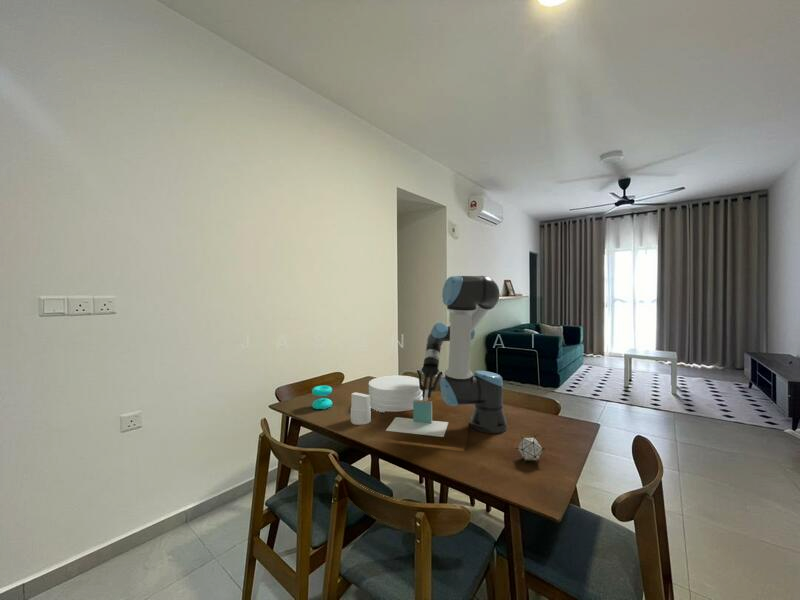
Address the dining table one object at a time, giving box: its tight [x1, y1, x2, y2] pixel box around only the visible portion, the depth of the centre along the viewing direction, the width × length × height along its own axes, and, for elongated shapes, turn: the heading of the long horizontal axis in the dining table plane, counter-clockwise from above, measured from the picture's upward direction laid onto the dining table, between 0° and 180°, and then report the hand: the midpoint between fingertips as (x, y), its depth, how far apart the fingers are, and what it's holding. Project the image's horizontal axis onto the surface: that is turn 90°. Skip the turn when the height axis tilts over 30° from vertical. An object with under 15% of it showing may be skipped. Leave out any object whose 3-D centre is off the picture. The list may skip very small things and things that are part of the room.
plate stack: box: [368, 374, 424, 414], centre depth 172 cm, size 28×28×12 cm
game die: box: [514, 434, 546, 463], centre depth 113 cm, size 9×8×10 cm
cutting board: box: [385, 416, 449, 438], centre depth 140 cm, size 24×15×1 cm, turn 74°
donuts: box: [311, 385, 333, 410], centre depth 168 cm, size 10×10×10 cm
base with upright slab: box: [350, 392, 372, 426], centre depth 150 cm, size 9×9×12 cm
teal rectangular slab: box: [412, 399, 433, 423], centre depth 145 cm, size 8×2×9 cm, turn 74°
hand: (425, 403), depth 152 cm, fingers closed
